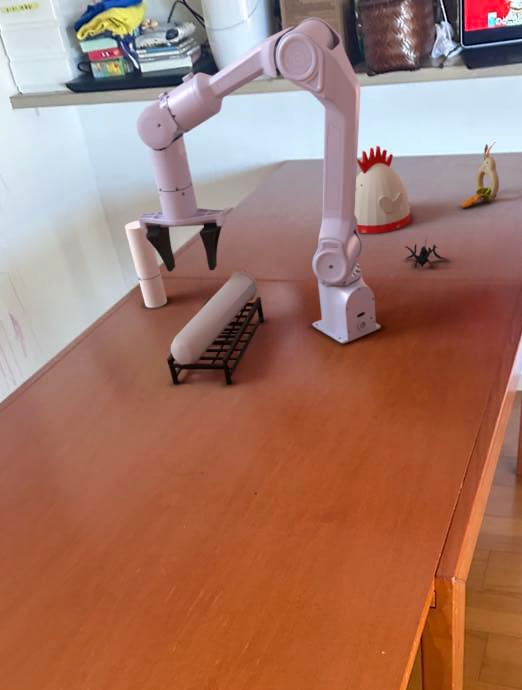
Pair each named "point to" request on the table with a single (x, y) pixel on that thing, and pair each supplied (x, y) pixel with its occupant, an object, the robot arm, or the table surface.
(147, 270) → the tube
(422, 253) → the creature
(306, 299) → the table surface
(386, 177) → the kitchen timer
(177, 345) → the tube
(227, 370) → the shoe rack
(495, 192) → the rattle
